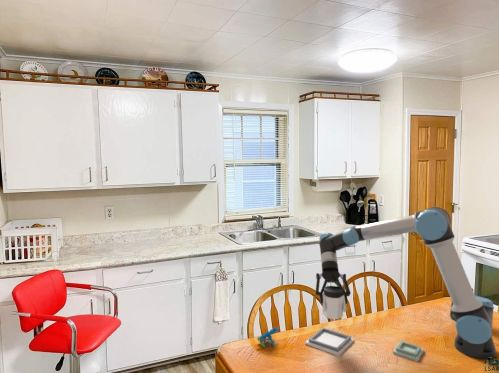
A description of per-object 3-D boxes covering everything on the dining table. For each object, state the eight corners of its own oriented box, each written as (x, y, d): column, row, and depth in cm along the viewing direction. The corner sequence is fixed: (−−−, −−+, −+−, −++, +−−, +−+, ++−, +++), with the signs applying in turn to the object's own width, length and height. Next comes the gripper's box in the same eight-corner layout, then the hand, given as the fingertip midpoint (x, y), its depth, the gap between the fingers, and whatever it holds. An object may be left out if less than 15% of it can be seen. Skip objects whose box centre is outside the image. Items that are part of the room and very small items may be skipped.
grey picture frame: (353, 340, 164) (354, 336, 163) (339, 356, 151) (339, 351, 151) (321, 330, 173) (321, 326, 173) (305, 343, 161) (305, 339, 160)
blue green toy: (272, 331, 168) (280, 323, 161) (278, 343, 165) (286, 336, 158) (252, 341, 163) (259, 333, 156) (258, 354, 160) (266, 346, 153)
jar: (334, 321, 155) (335, 294, 154) (319, 315, 161) (319, 288, 160) (346, 315, 162) (347, 289, 161) (330, 309, 167) (331, 284, 166)
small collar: (423, 351, 155) (424, 346, 155) (418, 361, 147) (418, 356, 147) (399, 343, 161) (399, 339, 161) (392, 353, 153) (392, 348, 153)
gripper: (350, 267, 175) (357, 314, 160) (306, 266, 176) (309, 313, 161) (353, 260, 169) (360, 307, 154) (308, 259, 170) (311, 306, 155)
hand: (334, 310), depth 158 cm, fingers closed on jar, 8 cm apart
